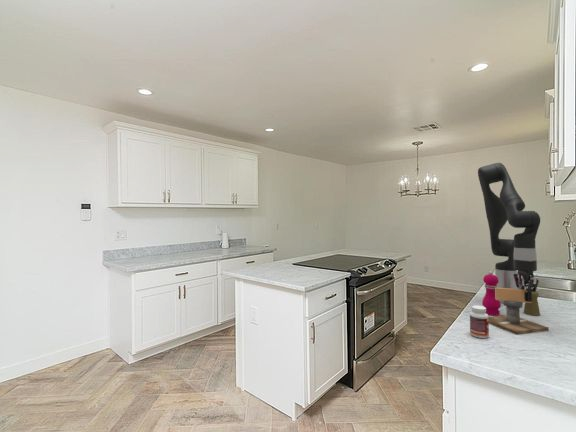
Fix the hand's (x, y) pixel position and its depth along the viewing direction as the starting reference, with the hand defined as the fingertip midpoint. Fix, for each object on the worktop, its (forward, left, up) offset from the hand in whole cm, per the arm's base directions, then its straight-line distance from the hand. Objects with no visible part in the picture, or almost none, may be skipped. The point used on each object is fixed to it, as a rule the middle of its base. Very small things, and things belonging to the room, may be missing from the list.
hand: (526, 300), depth 123 cm
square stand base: (+4, -3, -11) cm, 12 cm away
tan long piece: (+4, -3, -3) cm, 5 cm away
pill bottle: (+26, +2, -11) cm, 28 cm away
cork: (-17, -12, -11) cm, 24 cm away
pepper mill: (-1, -17, -11) cm, 20 cm away
